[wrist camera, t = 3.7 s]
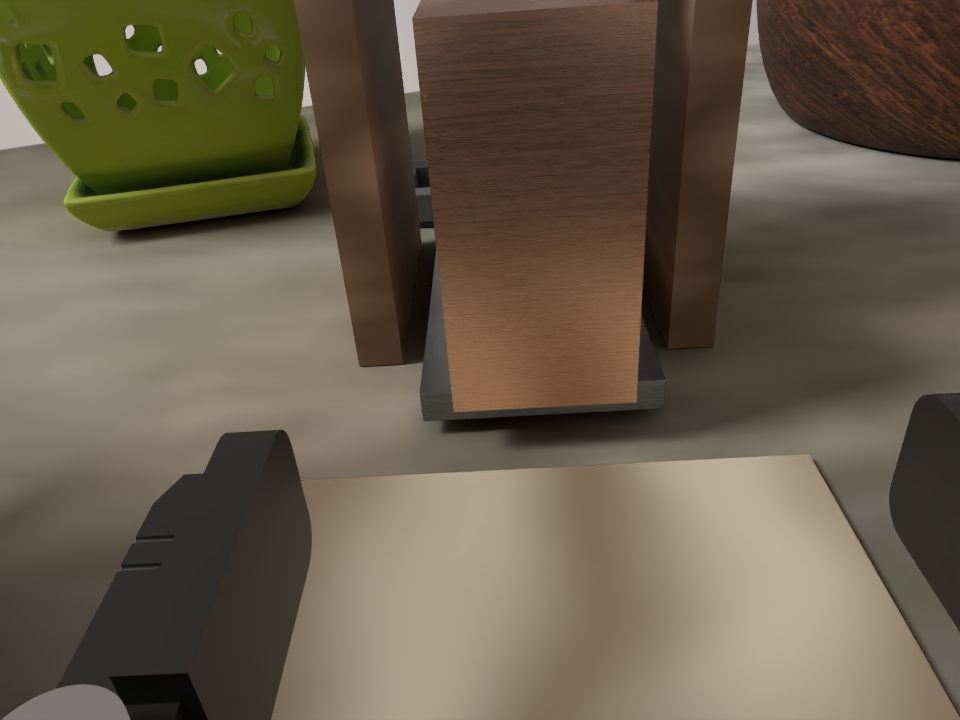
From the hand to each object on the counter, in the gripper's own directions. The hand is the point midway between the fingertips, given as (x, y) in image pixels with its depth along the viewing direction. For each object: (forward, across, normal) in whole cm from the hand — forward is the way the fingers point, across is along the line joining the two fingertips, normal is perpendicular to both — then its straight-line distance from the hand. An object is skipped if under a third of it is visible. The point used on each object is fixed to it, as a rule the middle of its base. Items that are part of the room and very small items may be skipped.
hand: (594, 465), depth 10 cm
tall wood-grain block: (+17, 0, +7) cm, 19 cm away
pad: (+2, 0, +7) cm, 8 cm away
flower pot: (+33, +17, +7) cm, 38 cm away
